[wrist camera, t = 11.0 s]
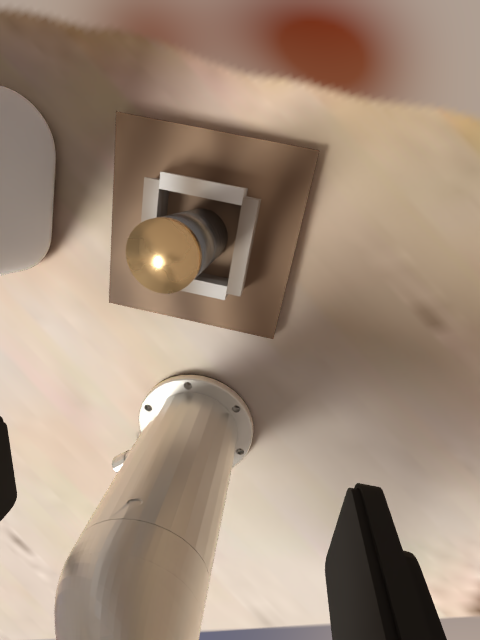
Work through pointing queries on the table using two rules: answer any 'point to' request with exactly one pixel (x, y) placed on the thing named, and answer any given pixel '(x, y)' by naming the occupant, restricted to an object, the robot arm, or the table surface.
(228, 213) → the docking plate
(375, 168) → the table surface
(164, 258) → the gold topped cylinder
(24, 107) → the plastic bottle
